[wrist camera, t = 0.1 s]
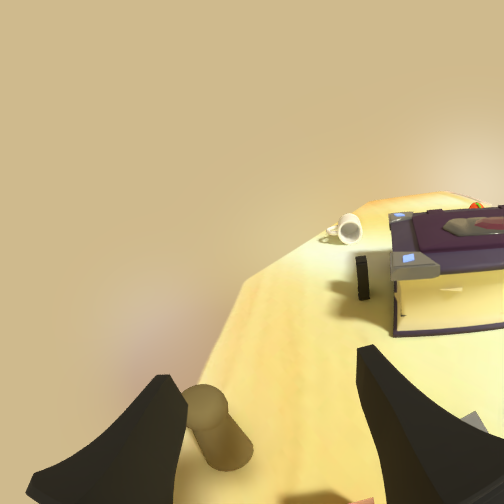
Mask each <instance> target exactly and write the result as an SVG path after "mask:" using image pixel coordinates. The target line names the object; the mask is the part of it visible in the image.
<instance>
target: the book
mask: <svg viewBox="0 0 504 504" xmlns="http://www.w3.org/2000/svg"><path fill="white" fill-rule="evenodd" d="M388 215H389V226H390V230H391V234H392V249H393V252H390V273H391V281H394V329H393V338H396V337H420V336H437V335H450V334H461V333H471V332H480V331H488V330H496V329H503V328H504V205H499V206H498V207H490V208H470V209H457V210H445V211H443V210H442V209H436V210H427V212H422V213H413V212H400V213H391V214H388Z"/></svg>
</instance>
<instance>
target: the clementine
mask: <svg viewBox="0 0 504 504" xmlns="http://www.w3.org/2000/svg"><path fill="white" fill-rule="evenodd" d="M470 208H484V207H483V205H481V204H480V203H477V202H476V203H473V204H471V206H470V207H469V209H470Z"/></svg>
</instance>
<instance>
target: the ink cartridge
mask: <svg viewBox="0 0 504 504" xmlns="http://www.w3.org/2000/svg"><path fill="white" fill-rule="evenodd" d="M356 267H357V277H358V292H359V293H358V296H359V300H363V299H370V297H369V280H368V268H367V260H366V256H358V257H356Z"/></svg>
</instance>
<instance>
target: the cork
mask: <svg viewBox="0 0 504 504" xmlns="http://www.w3.org/2000/svg"><path fill="white" fill-rule="evenodd" d="M181 394H182V396H183V397H184V399H185V400H186V402H187V403H188V415H187V424H186V426H187V427H188V428H190V429H192V430H193V433H194V435H195V437H196V439H197V442H198V444H199V446H200V448H201V450H202V452H203V454H204V456H205V458H206V461H207V463H208V464H209V465H210V466H211V467H212V468H215V469H217V470H220V471H233V470H236V469H239V468H241V467H243V466H244V465H245V464H247V463H248V462H249V460H250V459H251V457H252V455H253V451H254V450H253V444H252V443H251V441H250V440H249V438H248V437H247V436H246V435H245V434H244V432H243V431H242V430H241V429H240V427H239V426H238V425H237V424H236V422H235V421H234V420H233V419H232V417H231V416H230V415H229V414H228V402H227V400H226V398H225V396H224V394H223V393H222V392H221V391H220V390H219V389H217V388H216V387H214V386H211V385H207V384H200V385H195V386H192V387H190V388H188V389H186V390H185V391H184V392H183V393H181Z"/></svg>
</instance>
